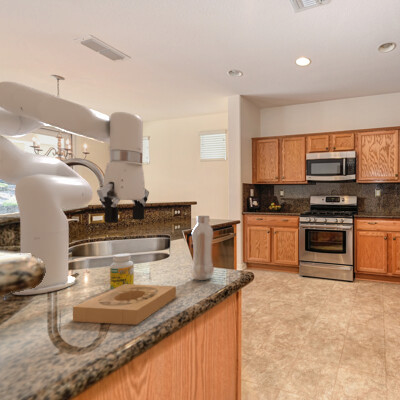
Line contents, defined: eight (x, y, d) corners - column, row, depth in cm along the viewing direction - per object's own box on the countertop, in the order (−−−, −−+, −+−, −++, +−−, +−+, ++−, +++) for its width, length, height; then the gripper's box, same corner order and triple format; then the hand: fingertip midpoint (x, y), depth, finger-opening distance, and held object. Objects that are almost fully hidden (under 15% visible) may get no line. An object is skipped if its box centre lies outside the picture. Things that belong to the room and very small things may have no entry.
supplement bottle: (136, 285, 74) (137, 252, 74) (128, 292, 68) (129, 256, 68) (115, 286, 72) (116, 253, 72) (105, 293, 67) (106, 257, 67)
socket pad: (72, 321, 52) (72, 306, 52) (124, 295, 66) (124, 284, 66) (136, 324, 51) (136, 310, 51) (175, 297, 65) (175, 286, 65)
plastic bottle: (206, 283, 76) (207, 217, 76) (186, 281, 78) (187, 216, 77) (217, 276, 83) (218, 215, 82) (199, 275, 84) (199, 215, 84)
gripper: (136, 163, 79) (135, 218, 79) (85, 153, 62) (84, 223, 62) (159, 163, 78) (158, 218, 79) (113, 153, 61) (113, 224, 61)
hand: (125, 220), depth 70 cm, fingers open, 9 cm apart
